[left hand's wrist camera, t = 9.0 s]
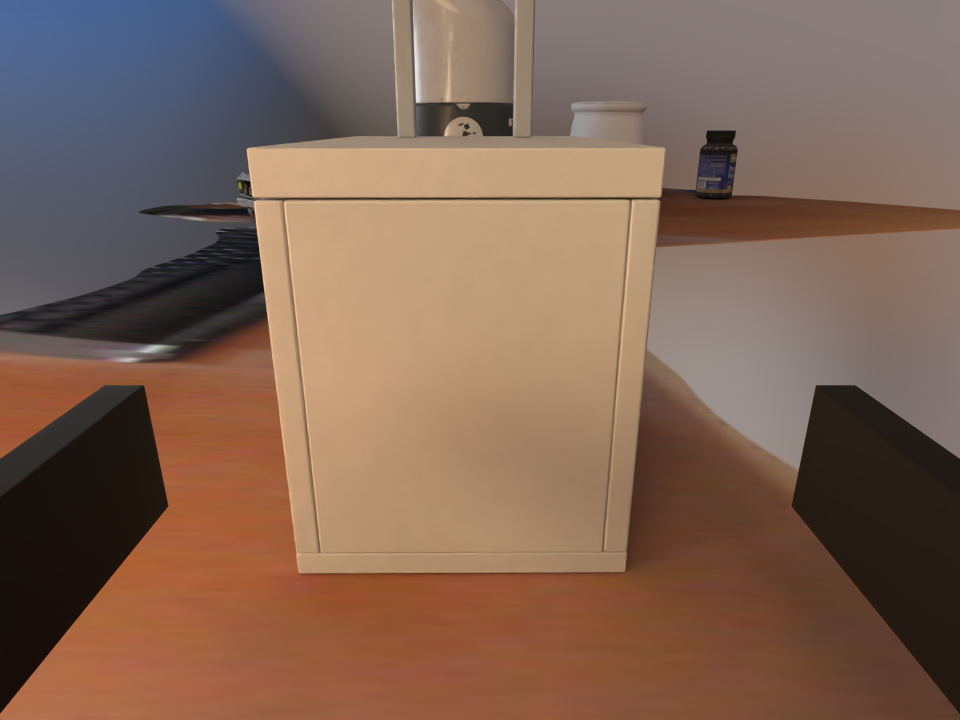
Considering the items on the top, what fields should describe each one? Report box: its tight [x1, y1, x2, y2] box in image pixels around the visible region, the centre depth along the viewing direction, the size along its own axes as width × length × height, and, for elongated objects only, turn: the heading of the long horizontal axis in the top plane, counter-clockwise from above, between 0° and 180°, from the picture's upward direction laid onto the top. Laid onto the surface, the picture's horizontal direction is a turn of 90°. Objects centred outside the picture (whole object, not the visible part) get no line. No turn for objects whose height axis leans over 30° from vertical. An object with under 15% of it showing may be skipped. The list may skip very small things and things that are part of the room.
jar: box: [570, 101, 647, 145], centre depth 92 cm, size 11×10×15 cm
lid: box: [247, 0, 666, 198], centre depth 20 cm, size 14×10×9 cm
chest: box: [254, 198, 660, 573], centre depth 23 cm, size 13×10×11 cm
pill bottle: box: [696, 131, 737, 198], centre depth 111 cm, size 6×6×11 cm
